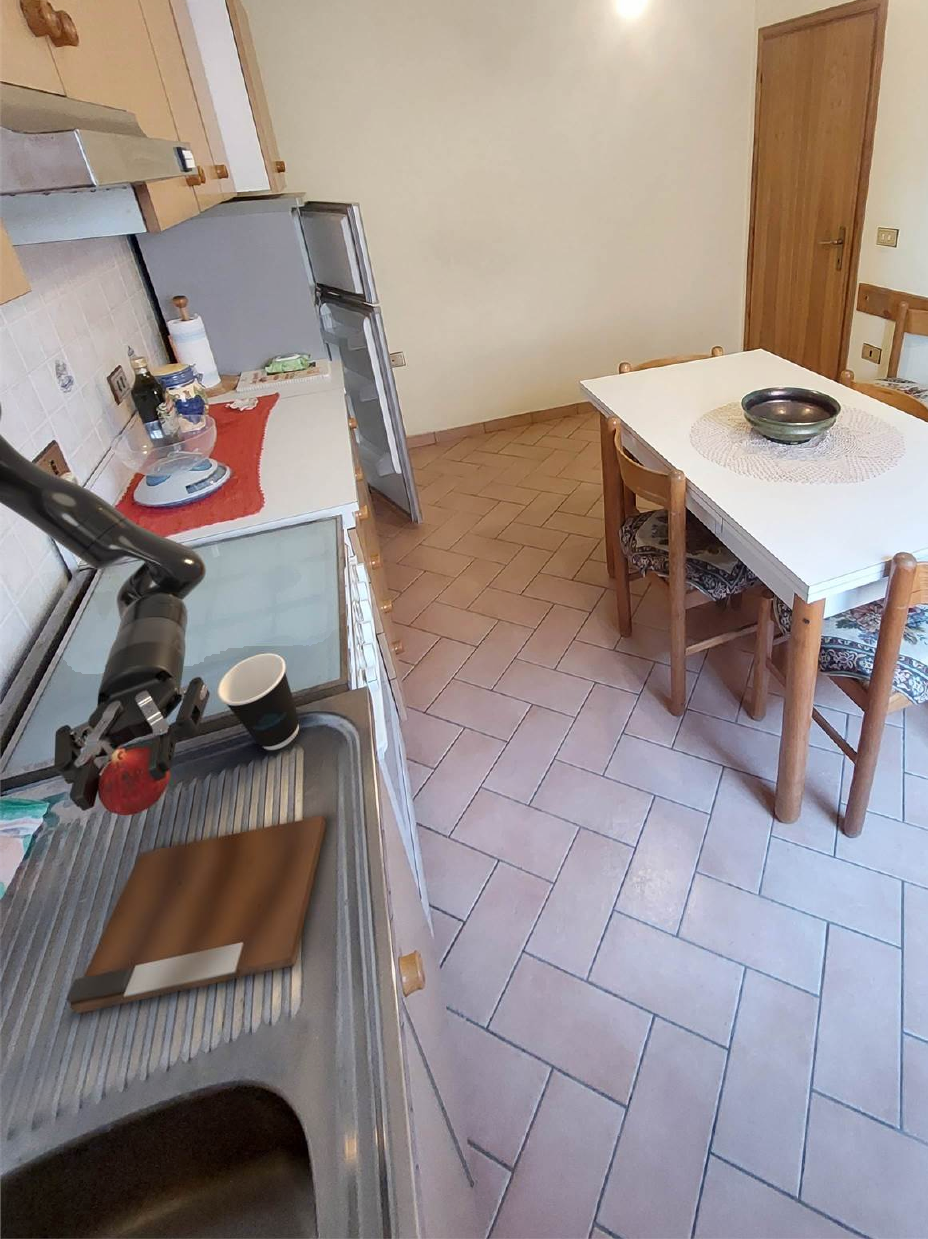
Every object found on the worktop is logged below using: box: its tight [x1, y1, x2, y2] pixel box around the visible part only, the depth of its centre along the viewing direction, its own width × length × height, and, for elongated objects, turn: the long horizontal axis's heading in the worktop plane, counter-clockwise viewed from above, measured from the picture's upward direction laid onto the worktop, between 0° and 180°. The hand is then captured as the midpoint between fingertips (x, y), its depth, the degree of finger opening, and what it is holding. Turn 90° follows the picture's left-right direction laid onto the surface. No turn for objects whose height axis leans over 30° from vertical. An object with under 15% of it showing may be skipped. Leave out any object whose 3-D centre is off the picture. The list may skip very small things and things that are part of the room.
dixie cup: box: [216, 653, 300, 751], centre depth 83 cm, size 8×8×11 cm
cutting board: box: [65, 815, 327, 1015], centre depth 66 cm, size 20×14×2 cm
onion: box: [97, 747, 171, 816], centre depth 64 cm, size 6×6×8 cm
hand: (120, 789), depth 61 cm, fingers closed on onion, 5 cm apart
